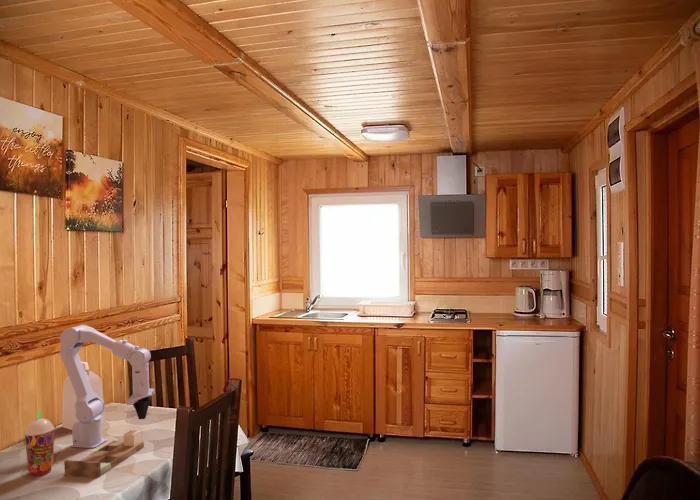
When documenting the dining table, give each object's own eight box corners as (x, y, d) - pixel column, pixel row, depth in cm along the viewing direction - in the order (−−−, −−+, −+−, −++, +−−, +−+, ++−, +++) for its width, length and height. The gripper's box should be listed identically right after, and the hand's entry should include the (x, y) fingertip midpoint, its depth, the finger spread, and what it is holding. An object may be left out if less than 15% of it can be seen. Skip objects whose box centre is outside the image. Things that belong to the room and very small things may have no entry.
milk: (105, 423, 211) (103, 360, 211) (78, 431, 201) (76, 366, 201) (89, 418, 217) (87, 358, 217) (62, 427, 208) (60, 363, 208)
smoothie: (33, 480, 158) (32, 416, 158) (20, 474, 162) (18, 412, 162) (61, 469, 165) (59, 408, 165) (47, 464, 169) (45, 405, 169)
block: (123, 445, 179) (123, 434, 179) (130, 441, 183) (130, 430, 183) (134, 446, 178) (133, 434, 178) (140, 441, 182) (140, 430, 182)
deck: (64, 475, 160) (64, 461, 160) (114, 446, 184) (113, 433, 184) (98, 477, 158) (98, 463, 158) (143, 447, 182) (143, 434, 182)
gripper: (139, 387, 179) (140, 425, 179) (161, 377, 193) (162, 412, 193) (121, 387, 180) (122, 425, 180) (144, 376, 195) (145, 412, 195)
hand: (142, 418), depth 187 cm, fingers closed
